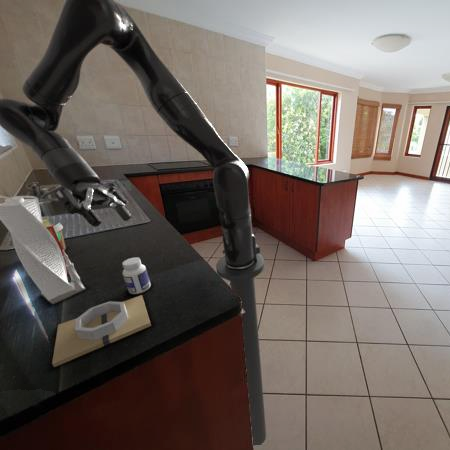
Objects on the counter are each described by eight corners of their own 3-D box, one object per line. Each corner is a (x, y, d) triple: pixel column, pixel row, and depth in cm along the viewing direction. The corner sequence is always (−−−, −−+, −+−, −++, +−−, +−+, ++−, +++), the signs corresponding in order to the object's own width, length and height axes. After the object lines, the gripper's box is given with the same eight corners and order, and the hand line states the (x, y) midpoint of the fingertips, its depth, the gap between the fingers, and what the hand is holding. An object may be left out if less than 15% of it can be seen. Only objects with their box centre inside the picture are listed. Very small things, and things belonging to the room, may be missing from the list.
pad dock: (142, 298, 62) (139, 287, 61) (151, 325, 54) (147, 314, 52) (59, 328, 53) (53, 316, 51) (54, 367, 44) (46, 354, 43)
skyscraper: (44, 308, 58) (-13, 199, 47) (32, 297, 62) (-24, 193, 51) (86, 289, 65) (44, 190, 54) (73, 280, 69) (31, 185, 58)
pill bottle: (149, 280, 69) (142, 254, 66) (152, 289, 65) (144, 262, 62) (128, 287, 66) (118, 259, 63) (129, 297, 62) (119, 269, 59)
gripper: (46, 158, 52) (96, 217, 53) (106, 163, 66) (145, 209, 67) (28, 180, 53) (76, 236, 54) (91, 180, 67) (128, 225, 68)
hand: (114, 221), depth 60 cm, fingers open, 8 cm apart
